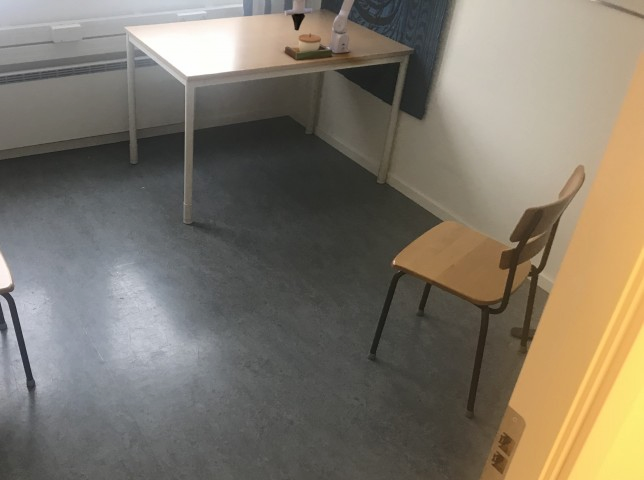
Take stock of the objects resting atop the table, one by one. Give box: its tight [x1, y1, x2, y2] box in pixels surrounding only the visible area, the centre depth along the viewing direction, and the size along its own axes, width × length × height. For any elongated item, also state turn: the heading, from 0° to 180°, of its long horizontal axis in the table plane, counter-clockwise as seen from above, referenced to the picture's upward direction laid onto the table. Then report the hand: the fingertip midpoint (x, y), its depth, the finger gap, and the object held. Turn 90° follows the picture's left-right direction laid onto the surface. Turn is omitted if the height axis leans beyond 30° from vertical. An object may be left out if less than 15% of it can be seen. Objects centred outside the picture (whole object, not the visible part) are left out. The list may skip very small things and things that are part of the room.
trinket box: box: [297, 33, 322, 52], centre depth 337 cm, size 11×11×9 cm
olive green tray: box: [284, 43, 333, 61], centre depth 339 cm, size 12×19×3 cm, turn 111°
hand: (296, 30), depth 345 cm, fingers closed
